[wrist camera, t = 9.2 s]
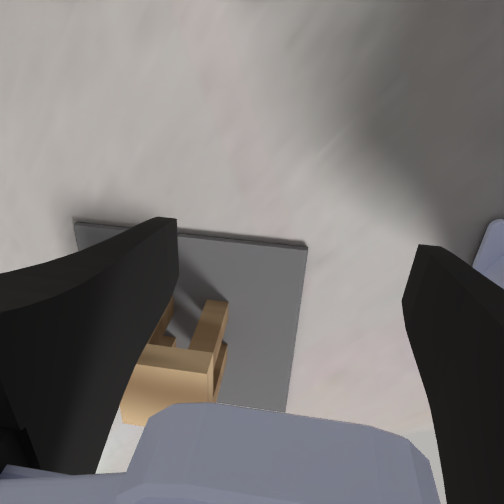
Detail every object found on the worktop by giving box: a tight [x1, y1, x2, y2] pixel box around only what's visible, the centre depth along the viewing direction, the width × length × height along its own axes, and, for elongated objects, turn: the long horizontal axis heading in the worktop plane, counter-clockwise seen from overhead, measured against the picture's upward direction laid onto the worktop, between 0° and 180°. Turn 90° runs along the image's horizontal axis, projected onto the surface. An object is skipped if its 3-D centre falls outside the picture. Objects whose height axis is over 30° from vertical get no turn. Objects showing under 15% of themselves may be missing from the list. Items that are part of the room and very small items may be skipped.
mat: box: [74, 222, 308, 413], centre depth 27 cm, size 14×14×1 cm
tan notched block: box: [120, 295, 229, 426], centre depth 24 cm, size 5×5×6 cm
